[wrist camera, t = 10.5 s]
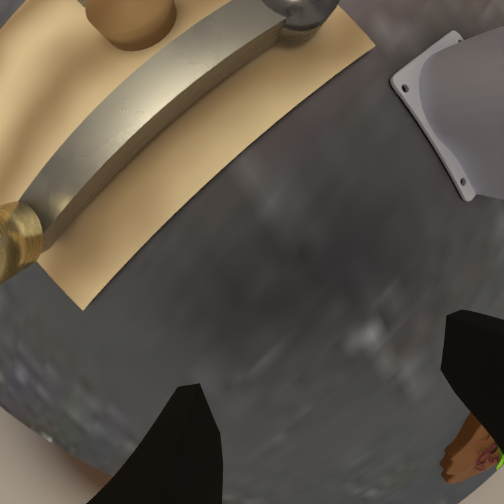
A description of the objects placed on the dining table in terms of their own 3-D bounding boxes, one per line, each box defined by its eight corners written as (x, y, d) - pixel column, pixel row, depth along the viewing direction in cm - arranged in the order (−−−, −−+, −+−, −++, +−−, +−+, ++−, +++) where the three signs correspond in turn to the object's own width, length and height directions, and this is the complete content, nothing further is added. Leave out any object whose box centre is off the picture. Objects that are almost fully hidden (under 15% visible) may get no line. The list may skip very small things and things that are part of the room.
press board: (368, 50, 15) (375, 45, 14) (88, 303, 18) (82, 310, 17) (177, -100, 11) (175, -107, 10) (-51, 120, 13) (-60, 119, 12)
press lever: (288, -22, 12) (322, -103, 5) (334, 24, 13) (396, -43, 6) (16, 217, 14) (-71, 250, 7) (54, 265, 15) (-23, 321, 8)
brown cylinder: (192, 16, 13) (186, -10, 10) (133, 65, 14) (115, 46, 11) (147, -20, 12) (136, -47, 9) (92, 26, 13) (71, 5, 10)
